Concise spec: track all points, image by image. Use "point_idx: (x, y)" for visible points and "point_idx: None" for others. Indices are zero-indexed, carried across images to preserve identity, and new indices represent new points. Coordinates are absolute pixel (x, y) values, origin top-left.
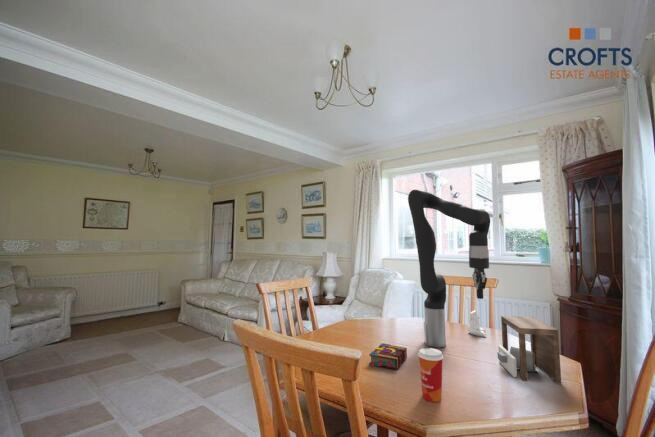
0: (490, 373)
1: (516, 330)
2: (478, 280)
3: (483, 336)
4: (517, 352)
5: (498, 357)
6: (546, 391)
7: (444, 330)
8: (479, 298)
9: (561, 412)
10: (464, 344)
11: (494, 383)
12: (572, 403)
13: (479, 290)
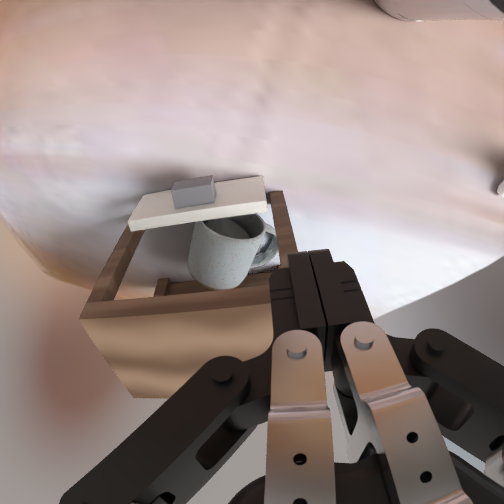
0: (148, 134)
1: (117, 302)
2: (252, 484)
3: (498, 187)
4: (203, 247)
5: (204, 178)
6: (99, 248)
7: (418, 7)
8: (288, 266)
9: (28, 247)
10: (429, 96)
11: (81, 141)
12: (72, 275)
13: (272, 341)
